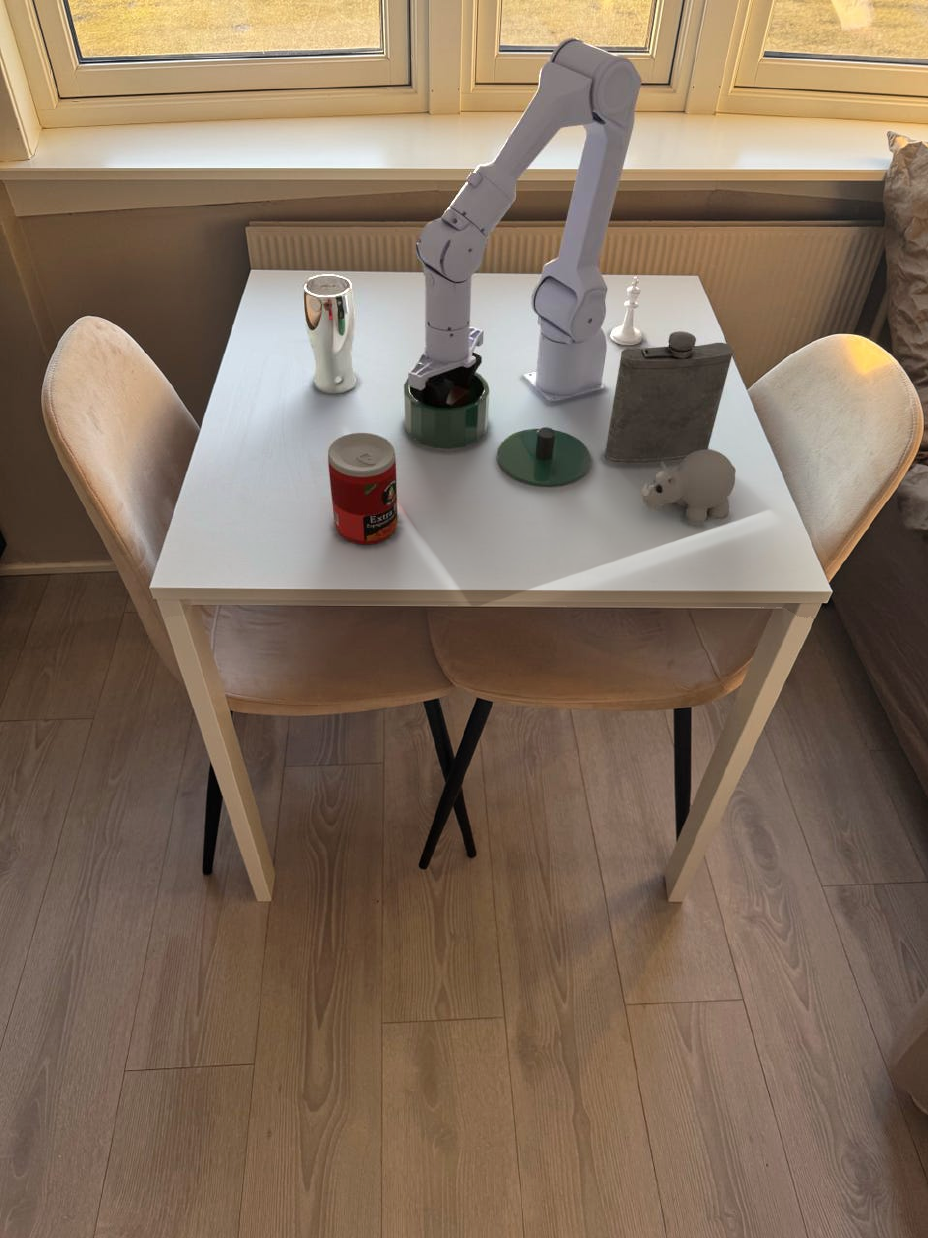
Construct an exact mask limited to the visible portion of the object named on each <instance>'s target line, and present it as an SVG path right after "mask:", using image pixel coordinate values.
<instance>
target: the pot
mask: <svg viewBox="0 0 928 1238" xmlns="http://www.w3.org/2000/svg"><path fill="white" fill-rule="evenodd" d="M441 375H444V379H447V378H446V372H443V373H441ZM403 403H404V404H403V407H404V408H403V409H404V428H405V432H406V433H407V434H408V435H409V437H410V438H411V439H413V440H414V441H416V442H417V443H419V444H421V445H423V446H427V447H430V448H434V449H447V450H451V449H458V448H465V447H467V446H470V445H472V444H474V443H477V442H478V441H480V439H481V438H483V437H484V436H485V435H486V432H487V430H488V427H489V407H490V386H489V383H488V381H487V380H486V379H485V377H483V375H482V374H480V373H479V372H477V371H476V372H475V374H474V376H473V378H472V381H471V383H470V386H469V402H468V405H467V406H464V407H459V408H452V409H447V408H435V407H432V406H428V405H425V404H424V400H423V398H422V395H421V393H420V391H419V390H418V389H416V388H413V387H411V386H409V379H408V378H406V381H405V383H404V384H403Z"/></svg>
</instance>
